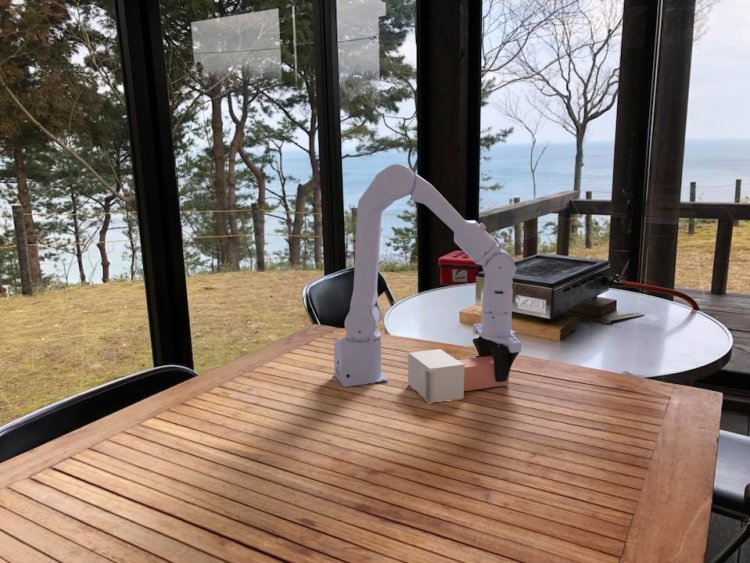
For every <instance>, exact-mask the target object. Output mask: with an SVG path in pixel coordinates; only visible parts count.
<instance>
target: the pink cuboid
mask: <svg viewBox="0 0 750 563" xmlns="http://www.w3.org/2000/svg"><path fill="white" fill-rule="evenodd" d="M458 361H460V362H462V363H463V364H465V365H464V392H468V391H474V390H475V391H476V390H482V389H489V388H496V387H502V386H508V385H510V374H509V375H508V378H507V381H504V382H497V381H496V379H495V368H494V361H493V357H492V356H485V357H476V358H469V359H461V360H458Z"/></svg>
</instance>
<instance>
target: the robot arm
mask: <svg viewBox="0 0 750 563" xmlns="http://www.w3.org/2000/svg"><path fill="white" fill-rule="evenodd" d="M407 196H410V198H409V200H410V201H411V202H416V203H420V204H423V205H424V206H425V207H427V208H428V209H429V210H430V211H431V212H433V213H434V214H435V216H437V217H438V218H439V219H440V220H441V221H442V222H443V223H444V224H445V225H447V227H448V228H450V229H451V231H453V242H454V243H455V244H456V245H457V246H458V247H459V248H460V249H461V250H462V251H463V252H464V253H465V254H466V255H467V256H468V257H469V258H470V259H471V260H472V261H473V262H474V263H475V265H479V266H481V267H482V269H483V272H484V278H483V279H484V281H483V283H484V284H483V286H482V301H481V302H482V303H481V304H482V305H481V307H482V308H481V323H474V324H472V325H473V326H472V327H473V330H472V332H473V334H475V335H479V336H478V337H476V338H473V339H472V344H473V343H474V345H475V347H476V349H477V352H478V355H479V357H485V356H492V357H493V361H494V368H495V379H496V381H497V382H504V381H507V378H508V375H509V376H510V372H511V371H510V370H511V369H512V366H513V363H514V361H515V360H516V359H517V357H518V355H519V354H520V353H521V352H522V341H520V340H518V339H517V338H516V331H514V330H512V319H513V318H512V317H513V316H512V315H513V314H512V313H513V294H514V291H513V283H514V281H513V277H514V276H515V274H516V271H517V267H516V263H515V261H514V258H513V257H512V256H511V255H510V253H509V252H508V250H507V249H505V248H503V247H504V244H503V243H502V242H501V241H499V242H498V241H496V239H494V237H493V236H492V235H491V234H490V233H488V231H486V229H487V226H486V225H485V224H484V223H483V222H480V223H479V222H477V221H476V220H472V219H471V220H467V219H465V218H464V217H463V216H462V215H461V214H460V213H459V212H458V211H457V210H456V209H455V208H454V207H453V205H452V204H450V203H449V201H448V200H447V199H446V198H445V197H444V196H443V195H442V194H441V193H440V191H438V190H437V189H436V188H435V186H434V185H432V183H430V182H429V181H427V180H426V179H424V178H423V177H421V176H420V175H419V174H416V173H415V172H414V170H413V169H412V168H411V167H409V166H407V165H403V164H401V163H394V164H391V165H389V166H386V168H384V169H382V170H381V171H379V172H378V173H377V174H376V175H375V177H374V178H373V180H372V181H371V182H370V184H369V185H368V187H367V189H366V190H365V191H364V192H363V194H362V195H361V197H360V198H359V200H358V202H357V213H356V214H357V216H356V217H357V218H356V233H355V234H356V235H355V236H356V237H355V252H354V253H355V254H354V269H353V270H354V275H353V290H352V294H351V300H350V307H349V311H348V313H347V315H346V317H345V320H344V325H343V326H344V330H345V332H346V333H345V336H344V337H342V338H338V339H335V340H334V345H333V363H334V369H333V370H334V371H333V375H334V377H335V378H336V379H337V380H338V382H339V383H340V384H341V386H343V387H344V388H346V387H354V386H355V387H356V386H362V385H369V384H368V383H371V384H376V383H375V382H379V383H382V382H381V381H386V382H388V381H389V378H388V377H387V376H386V375H385V374H384V373H382V333H381V332H380V330H379V328H378V327H377V326H378V325H379V324H380V322H381V319H382V311H381V308H380V306H379V301H378V300H379V293H378V280H379V279H378V278H379V267H380V266H379V264H380V262H379V261H380V247H381V232H382V231H381V230H382V229H381V228H382V215H383V211H385V210H386V209H387V208H389V207H390V206H391V205H393V204H394V202H396V201H398V200H401V199H403V198H406V197H407ZM498 346H499V347H498ZM387 380H388V381H387Z"/></svg>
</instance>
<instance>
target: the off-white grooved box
mask: <svg viewBox="0 0 750 563" xmlns="http://www.w3.org/2000/svg"><path fill="white" fill-rule="evenodd" d="M446 352H447V351H445V350H443V349H441V348H438V349H429V350H421V351H420V350H419V351H412V352H411V351H410V352H408V353H407V354H408V360H407V362H408V364H407V366H408V367H407V369H408V372H407V375H408V376H407V380H408V381H407V385H408V384H409V385H411V386H412V387H413V388H414V389H415V390H416V391H417V392H418V393H419V394H420V395H421V396H422V397H423V398H424V399H425V400H427V401H428V402H429V403H433V402H439V401H446V400H452V399H460V398H464V397H465V391H464V365H465V364H463V363H462V362H460V361H458V360H457V359H455V358H454V357H452V356H451V355H449V354H447V353H448V352H447V353H446ZM419 394H418V395H419ZM420 395H419V396H420ZM421 396H420V397H421ZM422 397H421V398H422ZM423 398H422V399H423ZM424 399H423V400H424ZM425 400H424V401H425ZM428 402H427V403H428ZM429 403H428V404H429Z"/></svg>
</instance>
